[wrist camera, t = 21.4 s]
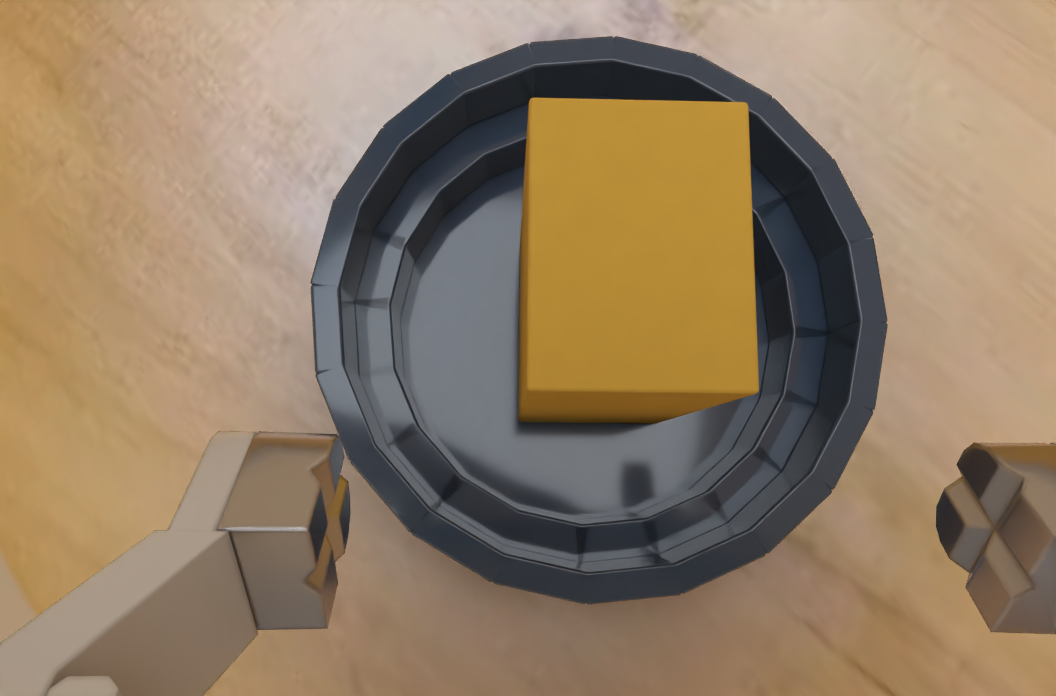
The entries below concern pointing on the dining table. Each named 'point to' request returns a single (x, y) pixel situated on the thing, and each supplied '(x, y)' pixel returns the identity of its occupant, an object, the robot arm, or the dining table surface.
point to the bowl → (493, 343)
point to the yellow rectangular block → (635, 260)
